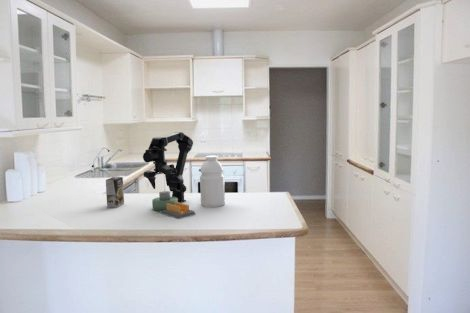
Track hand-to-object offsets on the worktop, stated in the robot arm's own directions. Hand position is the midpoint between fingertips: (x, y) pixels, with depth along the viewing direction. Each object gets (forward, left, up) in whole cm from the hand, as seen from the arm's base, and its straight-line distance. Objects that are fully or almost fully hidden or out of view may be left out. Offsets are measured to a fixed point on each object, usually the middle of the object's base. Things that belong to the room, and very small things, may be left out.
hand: (161, 187), depth 216 cm
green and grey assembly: (0, +10, -11) cm, 15 cm away
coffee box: (+16, -24, -12) cm, 31 cm away
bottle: (-23, +17, -12) cm, 31 cm away
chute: (+2, +17, -11) cm, 20 cm away
